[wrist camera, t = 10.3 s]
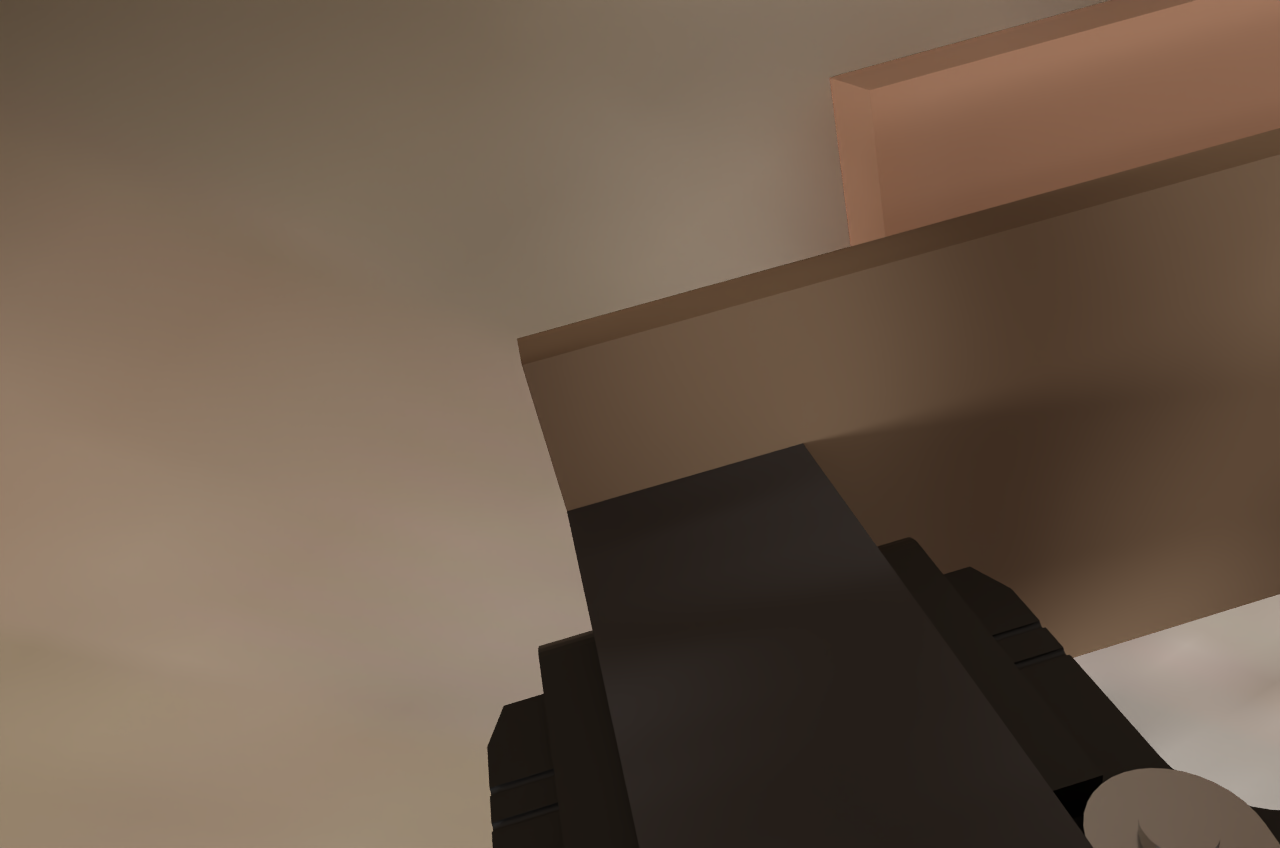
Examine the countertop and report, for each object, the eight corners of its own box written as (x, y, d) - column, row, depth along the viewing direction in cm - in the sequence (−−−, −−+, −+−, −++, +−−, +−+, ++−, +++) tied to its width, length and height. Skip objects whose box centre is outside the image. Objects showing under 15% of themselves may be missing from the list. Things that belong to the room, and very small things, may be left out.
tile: (910, 467, 20) (1337, 340, 21) (869, 90, 17) (1390, -54, 17) (865, 418, 23) (1252, 304, 23) (820, 75, 19) (1283, -52, 19)
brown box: (642, 746, 14) (779, 1308, 8) (517, 338, 11) (599, 795, 5) (1242, 563, 15) (1763, 968, 9) (1294, 123, 12) (2177, 309, 6)
